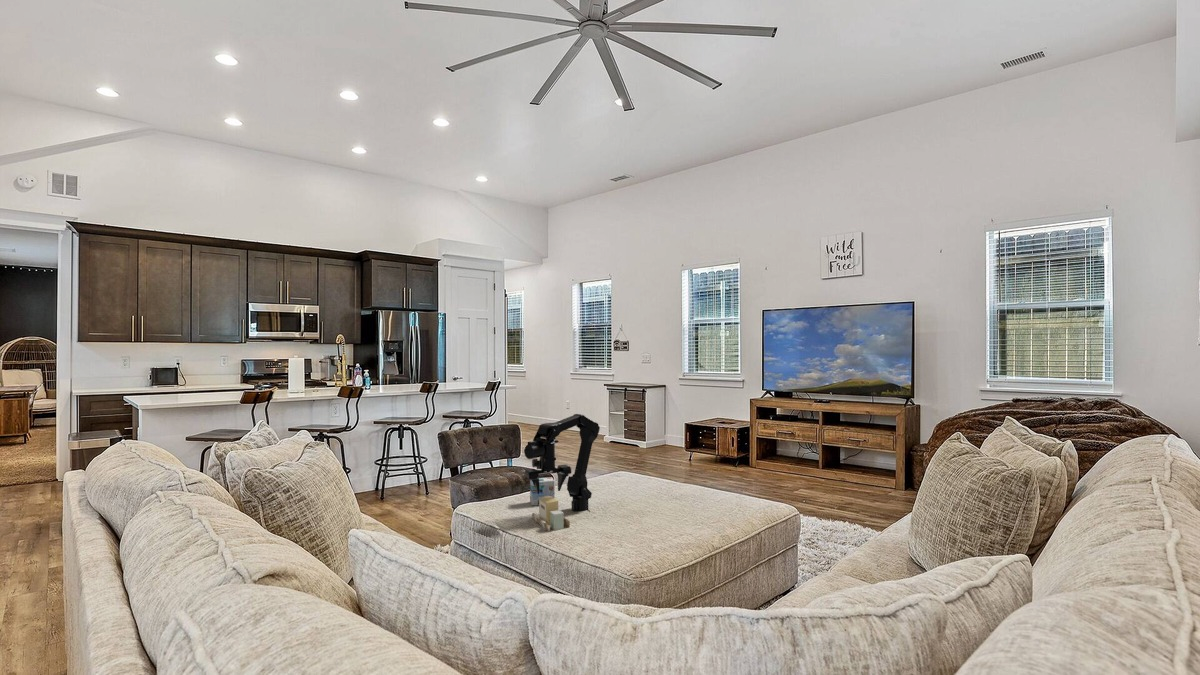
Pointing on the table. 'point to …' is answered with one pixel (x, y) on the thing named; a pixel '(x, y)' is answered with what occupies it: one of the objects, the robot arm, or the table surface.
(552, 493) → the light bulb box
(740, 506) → the table surface
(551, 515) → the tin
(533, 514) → the shelf
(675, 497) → the table surface
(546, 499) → the carton
